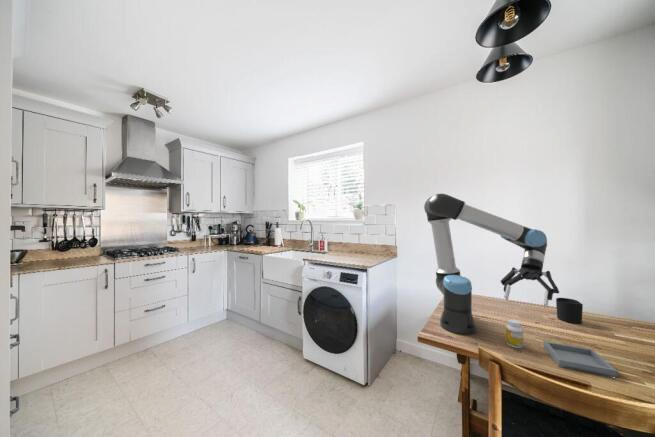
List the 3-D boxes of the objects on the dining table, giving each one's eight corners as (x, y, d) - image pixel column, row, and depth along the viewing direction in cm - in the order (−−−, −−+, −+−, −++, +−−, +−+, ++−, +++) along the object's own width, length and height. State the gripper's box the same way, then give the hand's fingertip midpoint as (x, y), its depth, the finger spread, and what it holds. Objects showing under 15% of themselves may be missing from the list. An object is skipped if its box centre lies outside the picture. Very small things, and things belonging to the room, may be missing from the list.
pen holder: (587, 322, 116) (586, 302, 116) (576, 326, 113) (576, 305, 113) (562, 315, 125) (562, 296, 125) (552, 318, 121) (551, 299, 121)
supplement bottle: (506, 340, 100) (506, 317, 100) (523, 344, 96) (522, 320, 96) (505, 345, 95) (505, 321, 95) (523, 350, 92) (523, 325, 92)
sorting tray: (559, 366, 81) (559, 359, 81) (543, 347, 94) (543, 340, 94) (617, 378, 75) (617, 371, 75) (592, 356, 88) (592, 349, 88)
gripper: (571, 270, 103) (566, 314, 94) (503, 263, 123) (494, 299, 114) (568, 259, 100) (562, 304, 91) (499, 255, 120) (489, 291, 111)
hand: (524, 301), depth 103 cm, fingers open, 13 cm apart
